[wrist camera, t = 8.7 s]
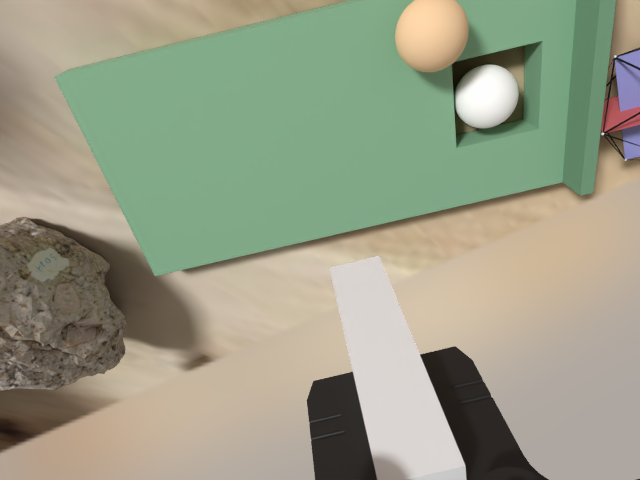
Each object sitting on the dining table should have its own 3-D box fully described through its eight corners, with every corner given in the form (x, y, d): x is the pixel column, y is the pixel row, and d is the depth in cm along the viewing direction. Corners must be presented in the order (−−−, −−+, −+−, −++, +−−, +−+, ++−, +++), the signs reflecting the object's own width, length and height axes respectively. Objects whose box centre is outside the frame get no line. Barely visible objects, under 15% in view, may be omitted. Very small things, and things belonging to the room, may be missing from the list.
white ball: (505, 139, 25) (526, 115, 27) (505, 74, 23) (528, 54, 25) (446, 136, 27) (469, 114, 29) (441, 76, 25) (467, 58, 27)
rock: (184, 346, 28) (96, 444, 28) (152, 268, 36) (84, 343, 36) (-64, 222, 19) (-193, 363, 19) (-33, 155, 27) (-124, 255, 27)
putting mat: (161, 259, 32) (147, 294, 28) (69, 69, 25) (37, 85, 22) (558, 167, 31) (593, 192, 28) (573, -56, 24) (623, -59, 21)
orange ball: (392, 72, 25) (409, 86, 22) (383, 1, 23) (400, 6, 20) (455, 56, 25) (481, 69, 22) (452, -16, 23) (479, -13, 20)
